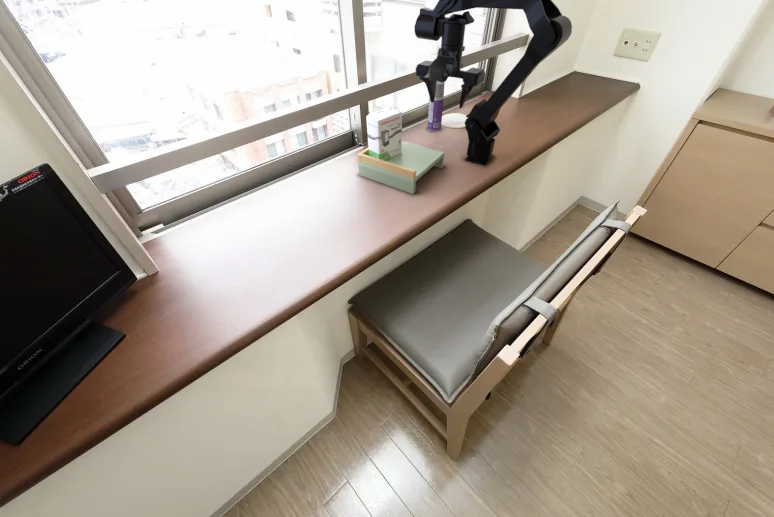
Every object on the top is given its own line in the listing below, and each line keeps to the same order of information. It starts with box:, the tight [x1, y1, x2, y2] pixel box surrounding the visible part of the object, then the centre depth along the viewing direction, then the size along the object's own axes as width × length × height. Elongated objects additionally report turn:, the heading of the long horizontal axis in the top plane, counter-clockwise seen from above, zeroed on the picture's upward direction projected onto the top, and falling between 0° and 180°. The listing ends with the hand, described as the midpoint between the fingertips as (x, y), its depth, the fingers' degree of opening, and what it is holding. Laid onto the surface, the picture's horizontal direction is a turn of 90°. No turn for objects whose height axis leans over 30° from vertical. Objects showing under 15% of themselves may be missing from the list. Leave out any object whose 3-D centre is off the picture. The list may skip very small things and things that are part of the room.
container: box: [427, 81, 446, 132], centre depth 113 cm, size 5×5×15 cm
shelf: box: [357, 140, 446, 195], centre depth 96 cm, size 18×17×6 cm
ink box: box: [365, 106, 403, 161], centre depth 91 cm, size 9×5×12 cm, turn 132°
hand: (446, 104), depth 99 cm, fingers open, 9 cm apart
